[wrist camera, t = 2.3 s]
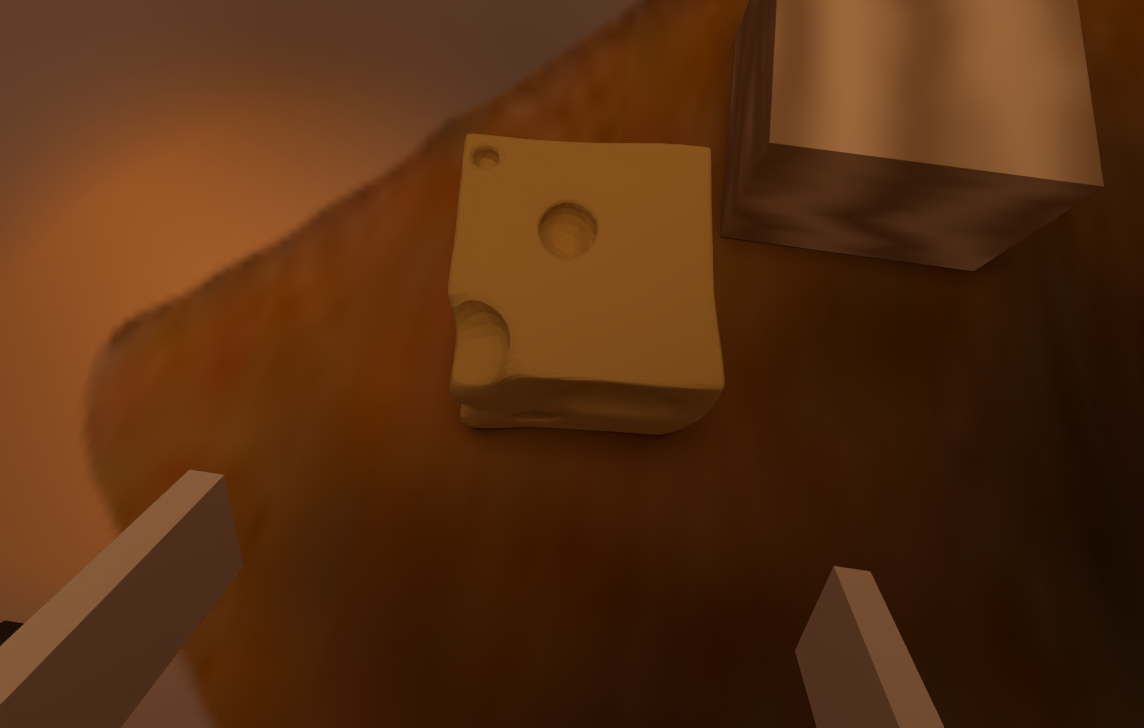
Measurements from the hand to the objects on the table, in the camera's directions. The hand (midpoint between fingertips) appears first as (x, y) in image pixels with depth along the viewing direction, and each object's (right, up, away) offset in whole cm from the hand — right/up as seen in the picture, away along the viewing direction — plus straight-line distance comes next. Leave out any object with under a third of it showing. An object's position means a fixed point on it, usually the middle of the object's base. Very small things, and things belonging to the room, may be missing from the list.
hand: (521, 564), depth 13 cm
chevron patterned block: (+17, +17, +21) cm, 32 cm away
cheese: (+1, +6, +18) cm, 19 cm away
